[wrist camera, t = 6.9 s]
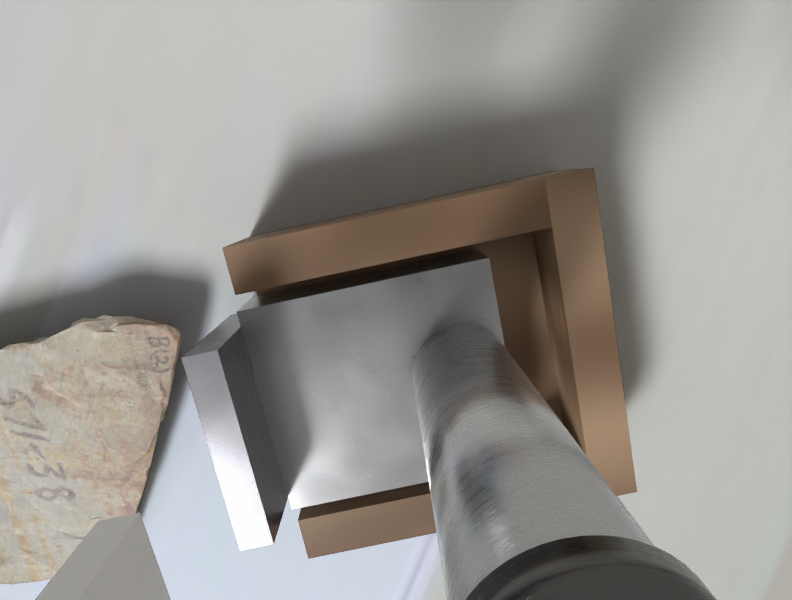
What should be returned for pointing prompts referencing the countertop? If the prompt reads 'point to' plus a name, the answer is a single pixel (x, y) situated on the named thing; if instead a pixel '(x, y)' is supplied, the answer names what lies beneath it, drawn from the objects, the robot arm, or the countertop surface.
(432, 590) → the countertop surface
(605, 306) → the frame
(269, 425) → the ram
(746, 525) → the countertop surface
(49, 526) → the stone
